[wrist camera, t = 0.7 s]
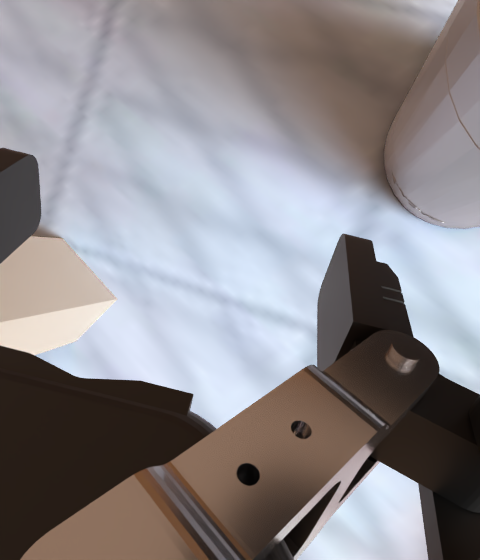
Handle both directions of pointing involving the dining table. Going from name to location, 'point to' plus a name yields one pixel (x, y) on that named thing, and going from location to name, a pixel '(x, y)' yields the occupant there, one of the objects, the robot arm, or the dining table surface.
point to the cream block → (48, 296)
